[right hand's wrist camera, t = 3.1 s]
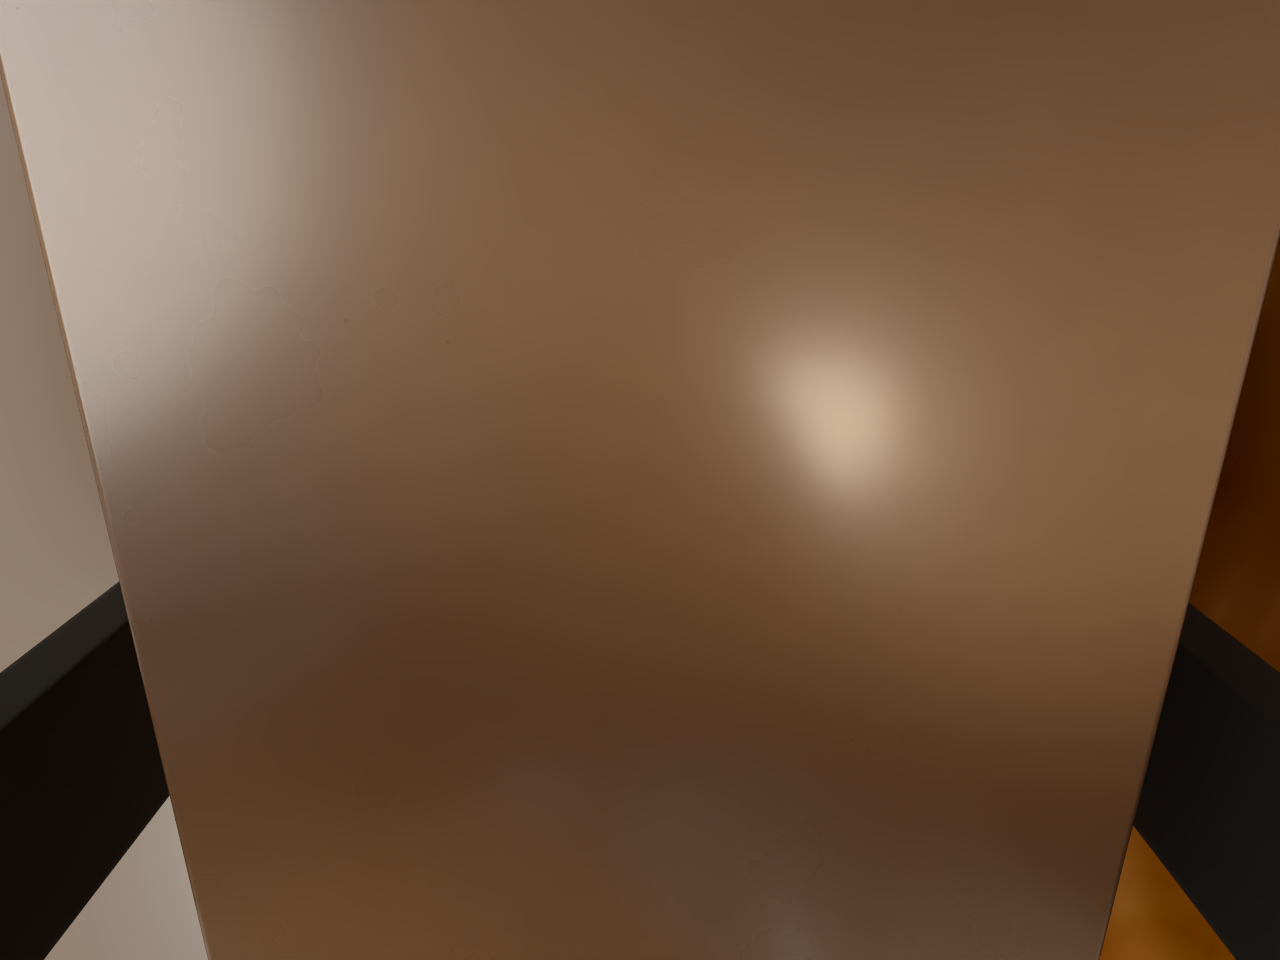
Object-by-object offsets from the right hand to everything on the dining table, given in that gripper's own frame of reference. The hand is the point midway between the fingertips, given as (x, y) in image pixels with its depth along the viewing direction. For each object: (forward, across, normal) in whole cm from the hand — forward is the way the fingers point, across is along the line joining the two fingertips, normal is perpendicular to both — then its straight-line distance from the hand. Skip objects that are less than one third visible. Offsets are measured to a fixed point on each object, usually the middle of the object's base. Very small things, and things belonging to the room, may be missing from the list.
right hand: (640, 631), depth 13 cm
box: (+5, 0, -8) cm, 10 cm away
